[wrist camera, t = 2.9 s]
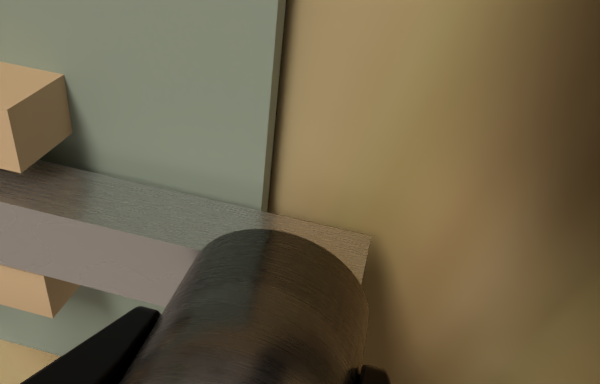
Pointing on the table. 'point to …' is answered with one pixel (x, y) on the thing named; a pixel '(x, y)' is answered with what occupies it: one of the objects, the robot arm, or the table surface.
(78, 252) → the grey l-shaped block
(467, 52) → the table surface
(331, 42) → the table surface
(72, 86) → the pitch
